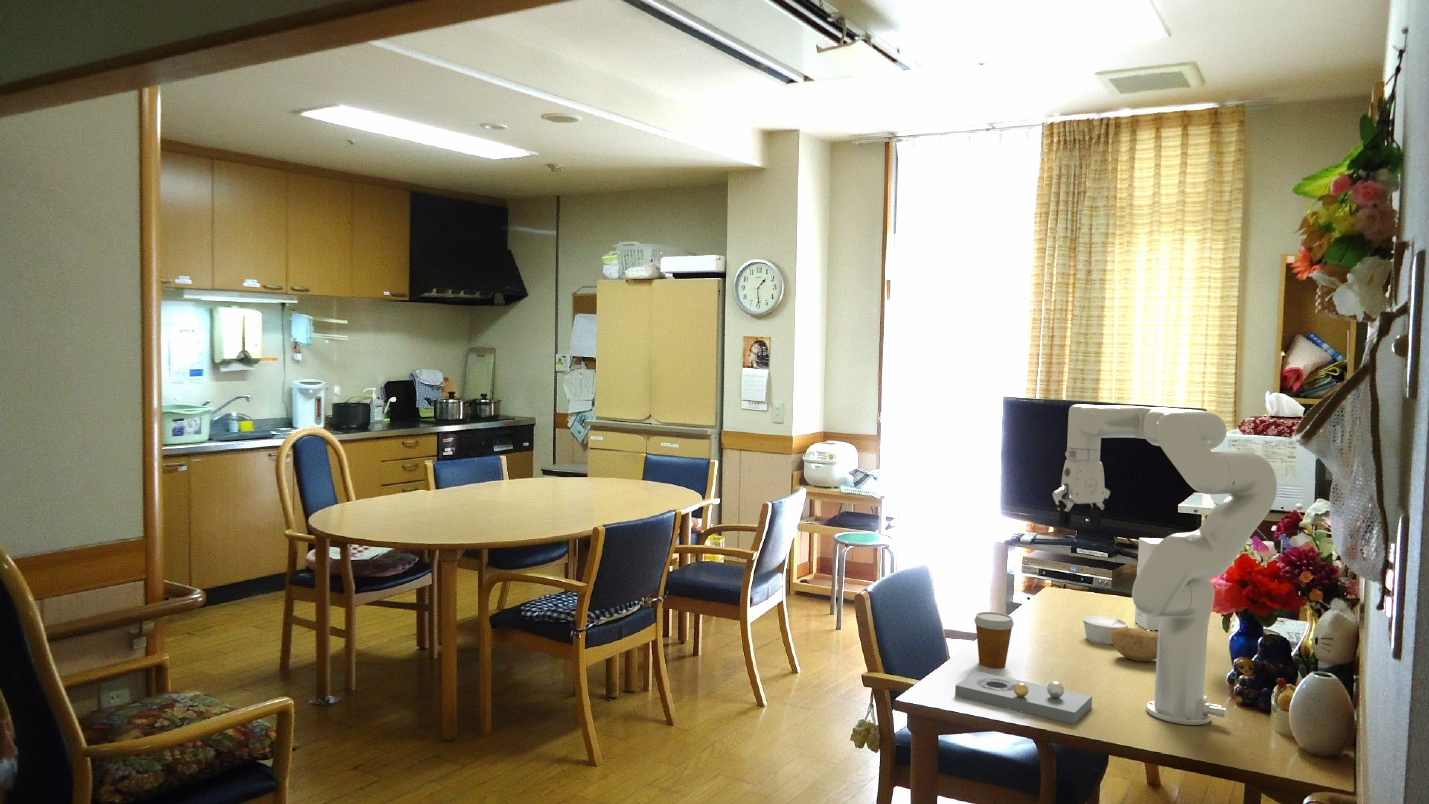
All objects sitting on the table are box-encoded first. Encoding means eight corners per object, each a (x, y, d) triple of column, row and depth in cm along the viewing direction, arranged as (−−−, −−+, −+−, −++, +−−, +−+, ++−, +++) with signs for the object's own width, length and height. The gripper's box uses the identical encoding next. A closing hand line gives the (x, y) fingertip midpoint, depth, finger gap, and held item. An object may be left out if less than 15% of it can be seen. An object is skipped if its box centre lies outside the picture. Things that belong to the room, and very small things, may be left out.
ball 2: (1065, 697, 215) (1066, 681, 215) (1060, 701, 212) (1061, 685, 212) (1049, 693, 217) (1050, 678, 217) (1044, 698, 214) (1045, 682, 214)
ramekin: (1133, 647, 265) (1134, 627, 264) (1091, 645, 265) (1092, 626, 265) (1117, 635, 276) (1118, 616, 275) (1076, 634, 276) (1077, 615, 276)
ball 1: (1029, 696, 215) (1030, 683, 215) (1025, 700, 213) (1025, 686, 212) (1016, 693, 217) (1016, 680, 217) (1011, 697, 214) (1012, 683, 214)
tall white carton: (1177, 632, 280) (1182, 544, 279) (1146, 630, 281) (1150, 543, 280) (1165, 623, 289) (1169, 538, 288) (1134, 622, 290) (1138, 537, 288)
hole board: (1091, 707, 217) (1092, 696, 217) (1074, 724, 206) (1074, 712, 206) (976, 681, 232) (977, 671, 232) (955, 696, 221) (955, 685, 221)
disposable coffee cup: (974, 656, 252) (976, 609, 251) (1013, 661, 248) (1015, 614, 248) (970, 667, 243) (972, 618, 242) (1010, 672, 239) (1012, 623, 239)
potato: (1171, 669, 246) (1173, 637, 245) (1110, 661, 251) (1111, 630, 250) (1169, 658, 255) (1170, 628, 254) (1110, 651, 260) (1111, 621, 259)
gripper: (1067, 458, 232) (1064, 530, 233) (1122, 456, 239) (1118, 527, 240) (1044, 454, 239) (1041, 525, 240) (1098, 453, 246) (1095, 522, 247)
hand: (1080, 526), depth 240 cm, fingers open, 9 cm apart
